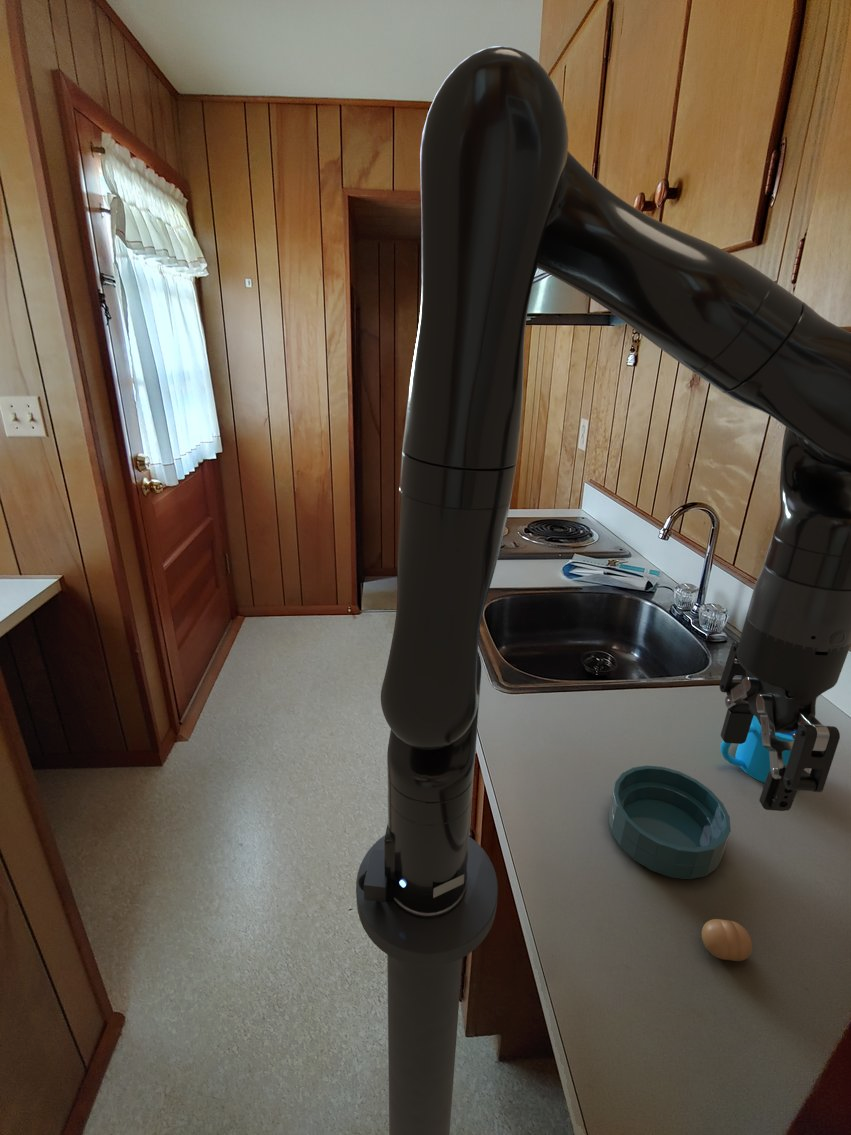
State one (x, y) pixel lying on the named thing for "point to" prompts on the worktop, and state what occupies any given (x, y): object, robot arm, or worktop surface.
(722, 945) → the bread
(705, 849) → the bowl
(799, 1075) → the worktop surface
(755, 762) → the mug
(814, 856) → the worktop surface
